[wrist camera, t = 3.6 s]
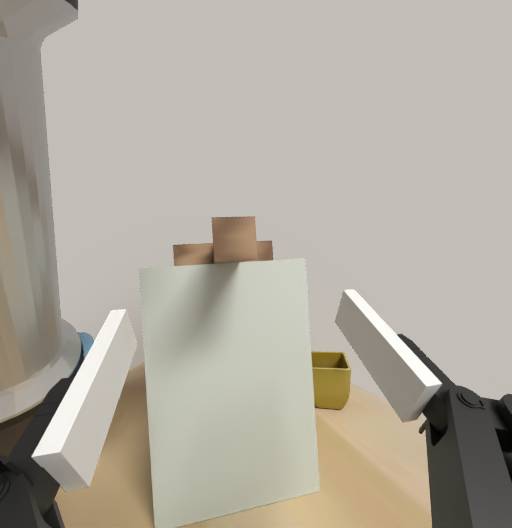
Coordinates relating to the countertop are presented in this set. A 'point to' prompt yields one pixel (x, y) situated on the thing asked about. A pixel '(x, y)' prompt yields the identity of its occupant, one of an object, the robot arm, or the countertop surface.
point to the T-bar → (226, 244)
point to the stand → (228, 387)
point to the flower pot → (330, 379)
